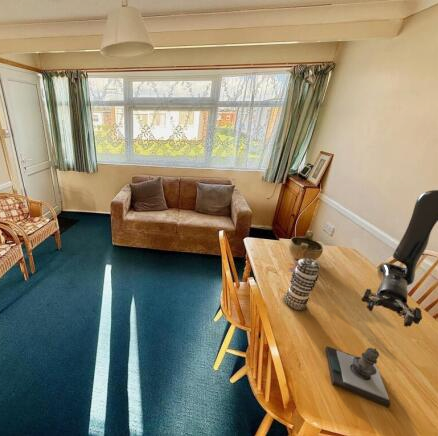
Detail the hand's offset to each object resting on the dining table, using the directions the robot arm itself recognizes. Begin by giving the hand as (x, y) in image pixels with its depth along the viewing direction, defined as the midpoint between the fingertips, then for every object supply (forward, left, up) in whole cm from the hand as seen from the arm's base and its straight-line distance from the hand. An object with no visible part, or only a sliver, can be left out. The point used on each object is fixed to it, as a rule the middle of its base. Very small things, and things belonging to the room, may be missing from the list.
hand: (388, 316), depth 75 cm
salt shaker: (+4, +10, -18) cm, 21 cm away
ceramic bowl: (+15, -64, -22) cm, 69 cm away
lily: (+18, -43, -22) cm, 51 cm away
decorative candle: (+21, -18, -22) cm, 35 cm away
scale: (+5, +10, -22) cm, 24 cm away
